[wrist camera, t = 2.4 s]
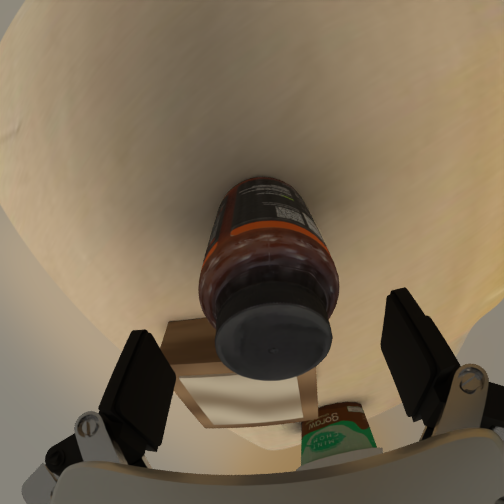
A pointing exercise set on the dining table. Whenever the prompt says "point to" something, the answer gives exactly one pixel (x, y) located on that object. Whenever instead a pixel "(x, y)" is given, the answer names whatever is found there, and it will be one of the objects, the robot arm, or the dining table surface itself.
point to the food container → (336, 437)
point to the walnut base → (231, 384)
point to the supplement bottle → (268, 283)
